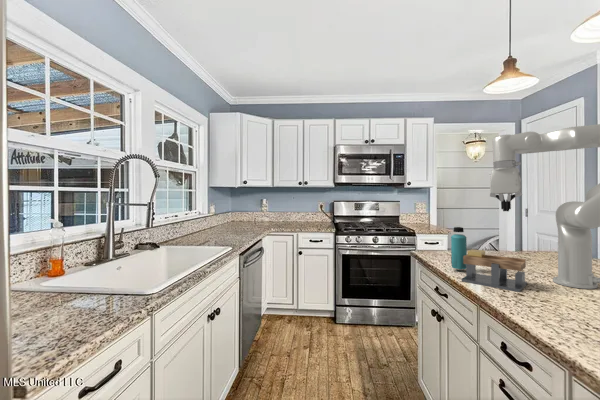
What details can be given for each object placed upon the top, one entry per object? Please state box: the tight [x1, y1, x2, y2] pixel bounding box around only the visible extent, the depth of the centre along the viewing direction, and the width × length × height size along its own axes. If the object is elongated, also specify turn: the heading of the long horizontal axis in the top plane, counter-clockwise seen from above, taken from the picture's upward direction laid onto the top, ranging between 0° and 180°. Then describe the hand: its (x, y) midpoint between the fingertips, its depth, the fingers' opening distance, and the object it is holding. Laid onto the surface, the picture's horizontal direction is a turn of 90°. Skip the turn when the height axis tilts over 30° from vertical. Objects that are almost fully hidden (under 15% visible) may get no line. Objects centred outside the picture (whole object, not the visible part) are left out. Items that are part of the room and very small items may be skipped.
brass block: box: [467, 248, 486, 258], centre depth 120 cm, size 5×5×3 cm
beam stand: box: [461, 263, 528, 293], centre depth 116 cm, size 19×13×9 cm
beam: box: [463, 253, 527, 272], centre depth 115 cm, size 19×8×3 cm, turn 43°
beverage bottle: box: [450, 226, 468, 270], centre depth 134 cm, size 6×7×20 cm
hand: (506, 211), depth 119 cm, fingers closed
